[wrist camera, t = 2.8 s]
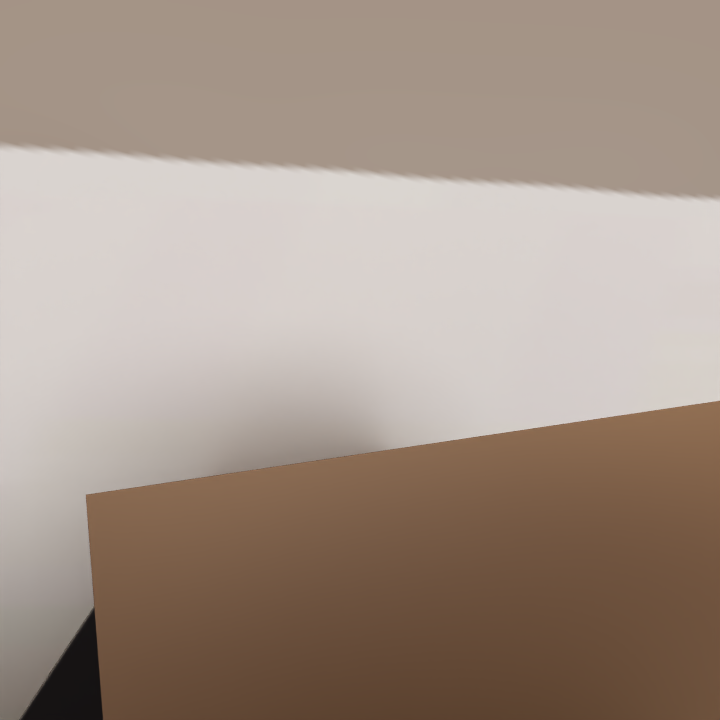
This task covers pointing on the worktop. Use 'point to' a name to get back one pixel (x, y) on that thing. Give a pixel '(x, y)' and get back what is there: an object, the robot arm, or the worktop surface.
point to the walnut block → (424, 581)
